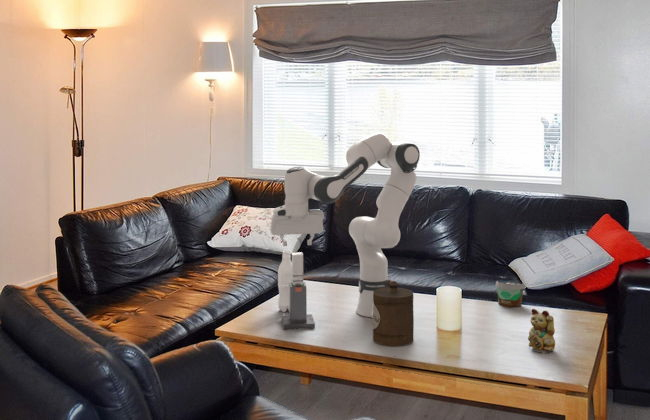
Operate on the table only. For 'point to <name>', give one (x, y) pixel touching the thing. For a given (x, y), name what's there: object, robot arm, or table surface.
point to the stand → (297, 310)
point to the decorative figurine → (541, 332)
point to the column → (297, 268)
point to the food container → (510, 294)
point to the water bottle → (284, 281)
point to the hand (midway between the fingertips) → (297, 245)
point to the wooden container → (393, 315)
